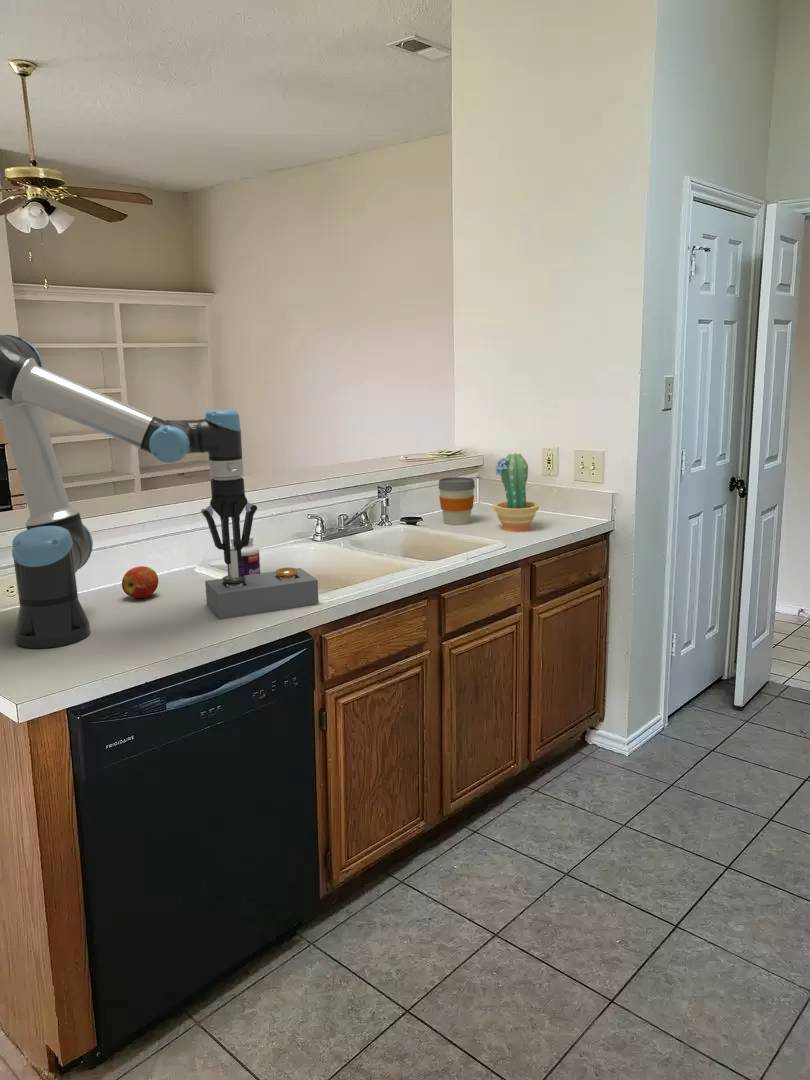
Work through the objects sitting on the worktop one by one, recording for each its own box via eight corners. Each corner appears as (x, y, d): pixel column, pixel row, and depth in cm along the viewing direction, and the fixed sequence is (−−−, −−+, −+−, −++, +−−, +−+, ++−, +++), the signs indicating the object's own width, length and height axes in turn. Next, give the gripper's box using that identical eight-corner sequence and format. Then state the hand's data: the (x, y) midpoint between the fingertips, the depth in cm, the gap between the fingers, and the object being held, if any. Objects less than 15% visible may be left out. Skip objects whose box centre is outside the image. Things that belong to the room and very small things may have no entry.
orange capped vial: (281, 604, 203) (279, 574, 201) (275, 598, 207) (273, 569, 206) (301, 601, 205) (300, 571, 203) (295, 595, 209) (293, 566, 208)
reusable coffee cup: (477, 519, 298) (477, 477, 294) (471, 526, 286) (471, 483, 282) (442, 518, 301) (442, 476, 297) (435, 525, 289) (434, 482, 285)
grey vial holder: (219, 619, 193) (217, 594, 191) (206, 604, 204) (205, 580, 203) (318, 603, 203) (317, 579, 201) (301, 590, 214) (300, 567, 213)
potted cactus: (499, 522, 291) (499, 450, 286) (543, 525, 286) (544, 451, 280) (487, 532, 277) (487, 456, 271) (533, 534, 272) (534, 457, 266)
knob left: (227, 612, 197) (225, 581, 196) (222, 606, 202) (220, 576, 200) (249, 609, 199) (247, 578, 198) (243, 603, 204) (241, 573, 202)
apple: (118, 600, 210) (115, 569, 208) (142, 591, 217) (139, 561, 215) (142, 603, 206) (139, 572, 204) (166, 594, 214) (163, 564, 212)
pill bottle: (254, 597, 209) (251, 541, 206) (224, 596, 210) (220, 540, 207) (266, 588, 217) (262, 534, 213) (236, 587, 218) (233, 533, 215)
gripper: (202, 482, 188) (210, 584, 193) (259, 477, 193) (265, 576, 198) (195, 477, 194) (203, 576, 200) (250, 473, 200) (256, 569, 205)
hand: (234, 576), depth 199 cm, fingers closed
